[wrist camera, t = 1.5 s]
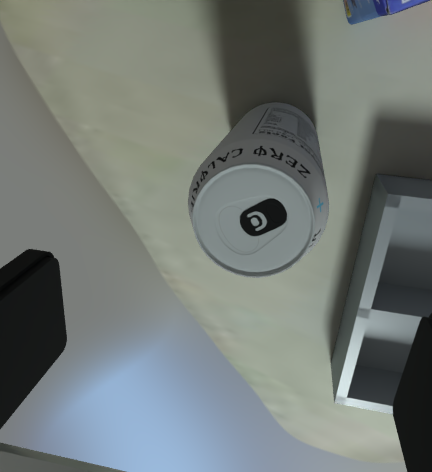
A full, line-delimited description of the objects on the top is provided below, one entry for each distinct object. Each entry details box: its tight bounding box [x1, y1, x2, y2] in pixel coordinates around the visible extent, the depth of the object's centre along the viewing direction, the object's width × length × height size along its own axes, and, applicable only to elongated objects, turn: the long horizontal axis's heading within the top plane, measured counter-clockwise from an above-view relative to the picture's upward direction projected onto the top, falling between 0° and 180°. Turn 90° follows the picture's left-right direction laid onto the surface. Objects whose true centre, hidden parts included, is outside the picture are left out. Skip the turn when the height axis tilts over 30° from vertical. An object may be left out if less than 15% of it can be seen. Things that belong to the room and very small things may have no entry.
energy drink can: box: [188, 102, 329, 278], centre depth 23 cm, size 6×6×15 cm
